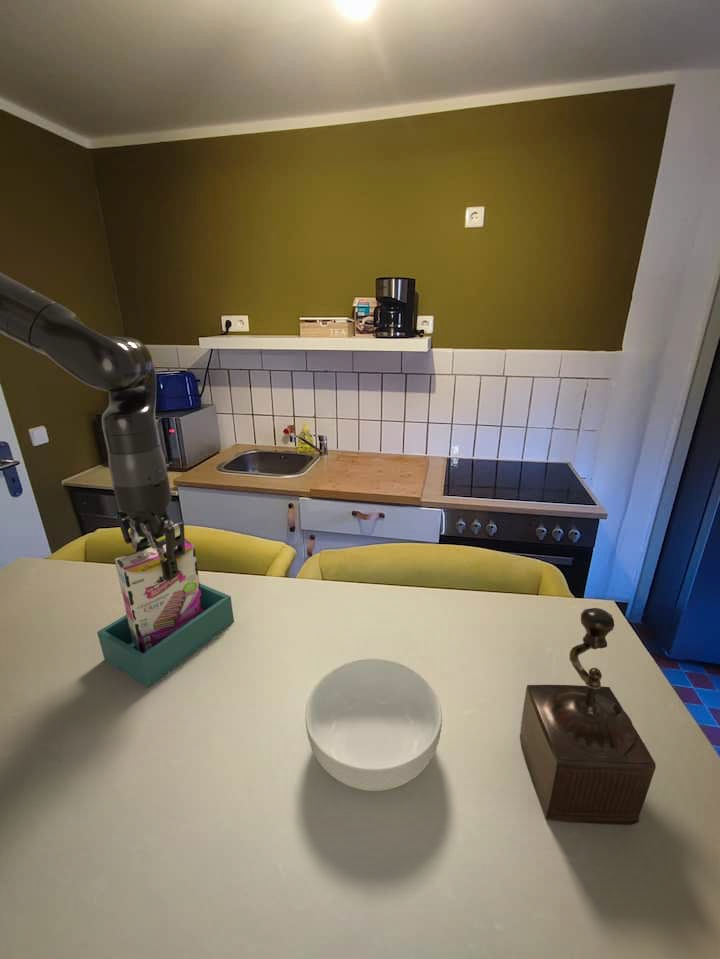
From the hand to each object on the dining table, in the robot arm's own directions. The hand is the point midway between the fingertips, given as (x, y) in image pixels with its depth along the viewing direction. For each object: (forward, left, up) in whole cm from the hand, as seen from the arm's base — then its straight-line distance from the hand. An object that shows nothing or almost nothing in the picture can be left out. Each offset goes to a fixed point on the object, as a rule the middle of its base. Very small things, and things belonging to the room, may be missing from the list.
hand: (159, 572), depth 70 cm
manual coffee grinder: (+62, +11, -14) cm, 65 cm away
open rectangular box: (0, 0, -14) cm, 14 cm away
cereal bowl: (+40, 0, -14) cm, 42 cm away
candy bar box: (0, 0, -13) cm, 13 cm away
